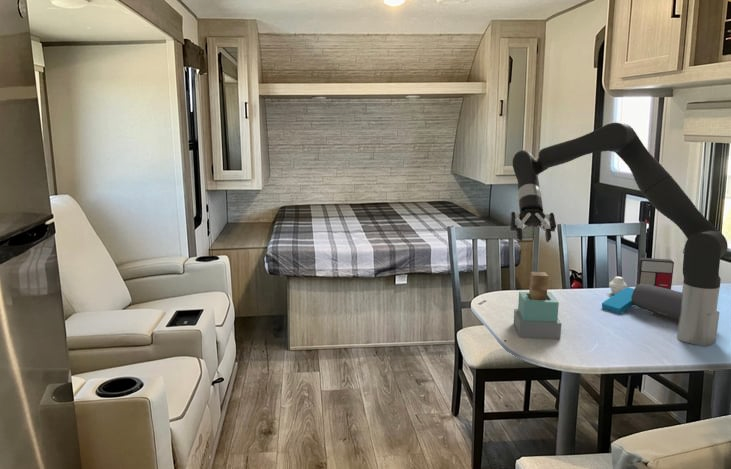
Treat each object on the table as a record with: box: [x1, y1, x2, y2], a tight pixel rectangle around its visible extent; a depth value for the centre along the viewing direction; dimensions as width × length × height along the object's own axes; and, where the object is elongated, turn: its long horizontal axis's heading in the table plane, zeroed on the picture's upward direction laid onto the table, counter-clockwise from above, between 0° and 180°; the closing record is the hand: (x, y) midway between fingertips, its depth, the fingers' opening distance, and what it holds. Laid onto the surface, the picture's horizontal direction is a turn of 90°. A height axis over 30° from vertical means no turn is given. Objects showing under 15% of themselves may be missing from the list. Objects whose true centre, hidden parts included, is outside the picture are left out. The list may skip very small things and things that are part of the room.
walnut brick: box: [528, 271, 549, 300], centre depth 168 cm, size 4×4×8 cm
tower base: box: [513, 291, 562, 340], centre depth 170 cm, size 12×12×11 cm
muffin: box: [609, 276, 628, 295], centre depth 209 cm, size 6×6×7 cm
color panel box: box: [636, 257, 675, 290], centre depth 202 cm, size 11×4×15 cm, turn 73°
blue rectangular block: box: [601, 286, 635, 314], centre depth 194 cm, size 7×7×18 cm
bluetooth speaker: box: [631, 284, 682, 324], centre depth 181 cm, size 23×9×10 cm, turn 30°
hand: (534, 240), depth 176 cm, fingers open, 8 cm apart
